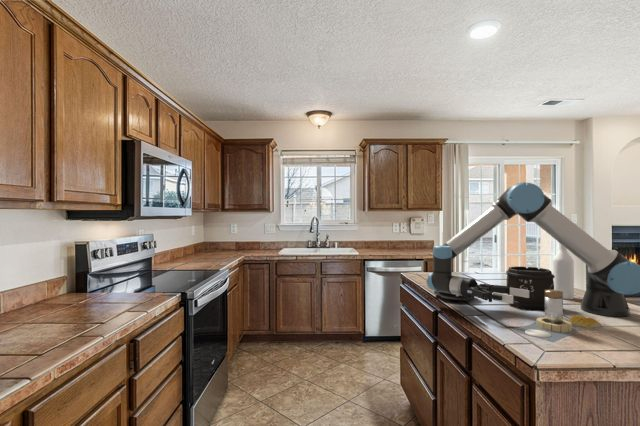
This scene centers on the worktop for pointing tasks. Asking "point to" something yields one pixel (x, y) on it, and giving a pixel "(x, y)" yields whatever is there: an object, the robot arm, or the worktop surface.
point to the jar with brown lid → (553, 306)
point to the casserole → (451, 296)
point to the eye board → (547, 330)
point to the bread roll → (584, 321)
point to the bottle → (563, 273)
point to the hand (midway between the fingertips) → (521, 296)
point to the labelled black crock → (530, 286)
